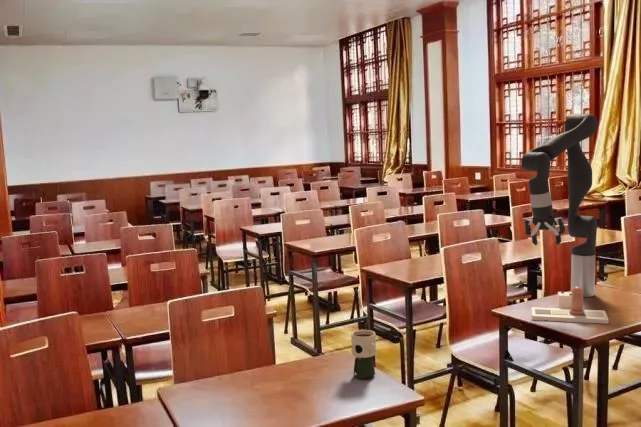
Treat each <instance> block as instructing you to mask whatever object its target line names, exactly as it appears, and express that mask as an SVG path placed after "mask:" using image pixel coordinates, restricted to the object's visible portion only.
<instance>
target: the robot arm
mask: <svg viewBox="0 0 641 427" xmlns="http://www.w3.org/2000/svg"><path fill="white" fill-rule="evenodd" d="M597 129H598V120H597V118H596V116H595V115H594V114H589V113H571V114H568V115H567V117H566V119H565V122H564V132H562V133H559V134H557V135H554V136H552V137H551V138H549V139H547V141H545V142H544V143H543V144H541V145H540V146H537V147H535V148H533V149H531V150H529V151H527V152H526V153H524V154H523V155H522V158H521V159H520V165H521V167H522V169H523V170H524V171H527V172H536V175H535V176H533V177H531V178H529V180H528V187H529V188H528V189H529V194H530V196H529V199H530V200H529V201H530V206H531V213H532V219H531V218H526V219H525V220H524V226H525V235H526V236H531V241H532V244H533V245H534V246H537V245H538V236H537V234H536V233H537V232H538V230H540V231H543V230H544V231H549V230H550V231H551V232H553V234H555V241H556V245H560V243H562V234H564V233H565V231H566V228H565V222H564V217H562V216H559V217H555V216H554V208H553V201H552V196H551V192H550V184H549V176H550V171H551V170H550V168H551V162H552V161H554V160H555V159H556V158H557V157H558V156H560V155H561V154H563V153H564V152H565V151H566V150H567V151H566V153H567V185H568V186H567V188H568V217H567V220H568V221H567V230H568V231H567V233H568V235H569V236H570V237H571V238H579V239H586V241H584V243H580V244H577V245H573V246H572V247H571V256H570V257H571V260H570V261H571V264H570V267H571V268H570V270H571V272H570V292H572V289H573V288H574V287H581V288H582V289H583V298H590V297H591V298H592V297H593V296H595V291H596V290H595V287H596V286H595V285H596V284H595V283H596V282H595V281H596V250H597V249H596V247H597V246H596V245H597V231H598V220H597V218H596V217H595V216H593V215H579V208H580V207H581V206H580V205H581V204H582V201H583V200H584V198H586V196H587V194H589V191H590V190H591V188H592V187H593V186H592V185H593V167H592V166H591V163H590V162H589V160H588V158H587V157H586V155H585V154H584V151H583V149H582V147H581V143H582V142H583V141H584V140H587V139H588V138H590V137H592V136H593V135H594V134H596V132H597ZM555 223H556V224H558V226H557V225H556V224H555ZM532 224H533V225H534V226H535V227H534V228H533V230H531V225H532ZM558 227H559V228H558Z"/></svg>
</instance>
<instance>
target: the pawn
mask: <svg viewBox="0 0 641 427" xmlns="http://www.w3.org/2000/svg"><path fill="white" fill-rule="evenodd" d="M584 310H585V309H584V297H583V289H582V288H581V287H574V288H573V289H572V303H571V309H570V313H571V314H574V315H583V314H584Z"/></svg>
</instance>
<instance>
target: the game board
mask: <svg viewBox="0 0 641 427" xmlns="http://www.w3.org/2000/svg"><path fill="white" fill-rule="evenodd" d="M530 310H531V320H532V321H544V320H548V322H565V323H566V322H568V323H585V324H588V323H589V324H605V325H608V324H609V322H610V321H609V320H610V319H609V317H608V315H607V313H606V311H605V310H602V309H601V310H597V309H583V310H584V314H583V315H574V314H571V313H570V309H559V308H558V307H556V308H555V307H538V306H537V307H536V306H533V307H531V309H530Z"/></svg>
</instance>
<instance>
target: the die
mask: <svg viewBox="0 0 641 427" xmlns="http://www.w3.org/2000/svg"><path fill="white" fill-rule="evenodd" d="M571 303H572V292H571V291H570V292H568V291H557V308H559V309H571Z"/></svg>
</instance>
